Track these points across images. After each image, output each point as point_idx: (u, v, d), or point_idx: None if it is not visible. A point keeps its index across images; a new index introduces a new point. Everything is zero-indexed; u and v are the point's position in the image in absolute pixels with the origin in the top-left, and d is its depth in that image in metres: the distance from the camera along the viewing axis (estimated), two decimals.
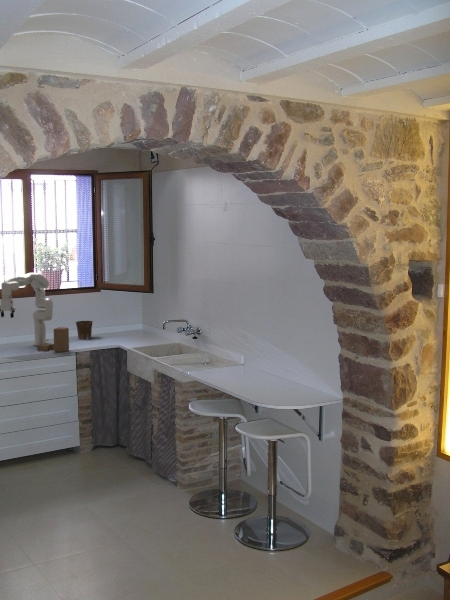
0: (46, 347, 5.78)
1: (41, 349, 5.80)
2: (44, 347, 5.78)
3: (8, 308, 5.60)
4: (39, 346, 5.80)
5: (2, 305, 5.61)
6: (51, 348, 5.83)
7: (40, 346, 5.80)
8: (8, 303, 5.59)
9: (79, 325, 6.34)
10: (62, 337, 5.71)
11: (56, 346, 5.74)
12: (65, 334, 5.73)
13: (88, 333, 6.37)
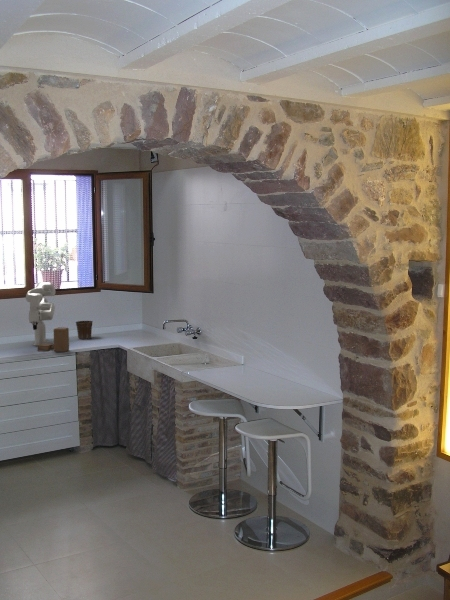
0: (46, 347, 5.78)
1: (41, 349, 5.80)
2: (44, 347, 5.78)
3: (36, 319, 5.82)
4: (39, 346, 5.80)
5: (30, 316, 5.83)
6: (51, 348, 5.83)
7: (40, 346, 5.80)
8: (36, 314, 5.81)
9: (79, 325, 6.34)
10: (62, 337, 5.71)
11: (56, 346, 5.74)
12: (65, 335, 5.73)
13: (88, 333, 6.37)
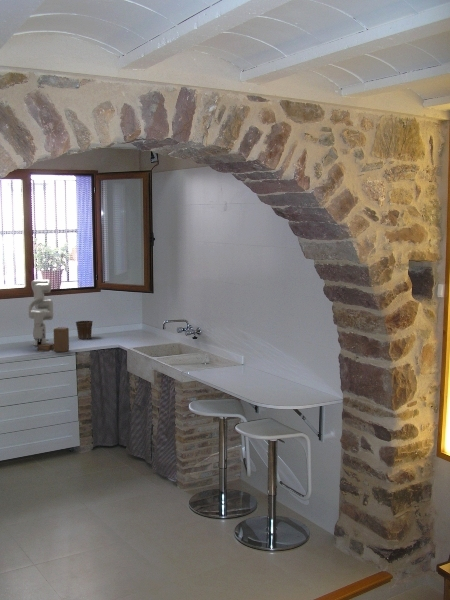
0: (47, 347, 5.78)
1: (42, 349, 5.79)
2: (45, 347, 5.78)
3: (40, 336, 5.82)
4: (40, 346, 5.79)
5: (34, 333, 5.84)
6: (52, 348, 5.84)
7: (41, 346, 5.79)
8: (40, 331, 5.81)
9: (79, 325, 6.34)
10: (62, 337, 5.71)
11: (56, 346, 5.74)
12: (65, 335, 5.73)
13: (88, 333, 6.37)
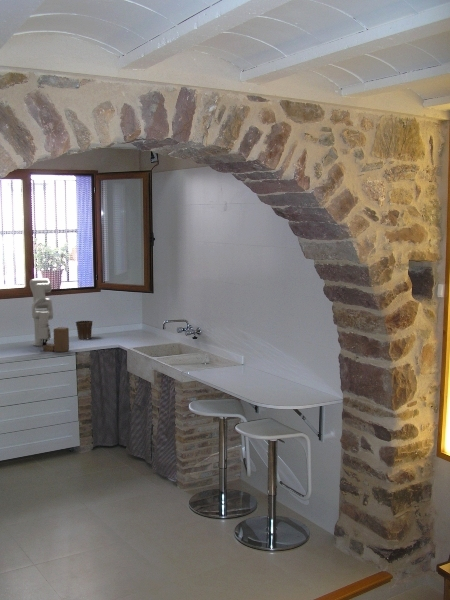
0: (52, 348, 5.76)
1: (47, 350, 5.77)
2: (50, 348, 5.76)
3: (45, 336, 5.80)
4: (45, 346, 5.78)
5: (40, 333, 5.82)
6: None
7: (46, 347, 5.77)
8: (45, 332, 5.79)
9: (79, 325, 6.34)
10: (62, 337, 5.71)
11: (56, 346, 5.74)
12: (65, 334, 5.73)
13: (88, 333, 6.37)
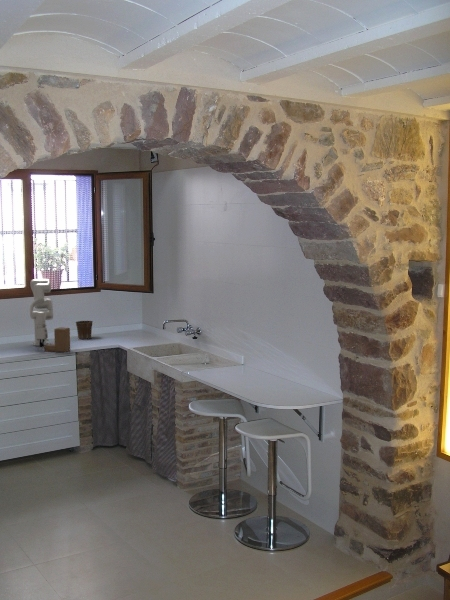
0: (53, 348, 5.75)
1: (48, 350, 5.77)
2: (51, 348, 5.76)
3: (43, 337, 5.82)
4: (46, 346, 5.77)
5: (37, 334, 5.83)
6: None
7: (47, 347, 5.77)
8: (43, 332, 5.81)
9: (79, 325, 6.34)
10: (63, 337, 5.71)
11: (56, 346, 5.74)
12: (65, 335, 5.73)
13: (88, 333, 6.37)
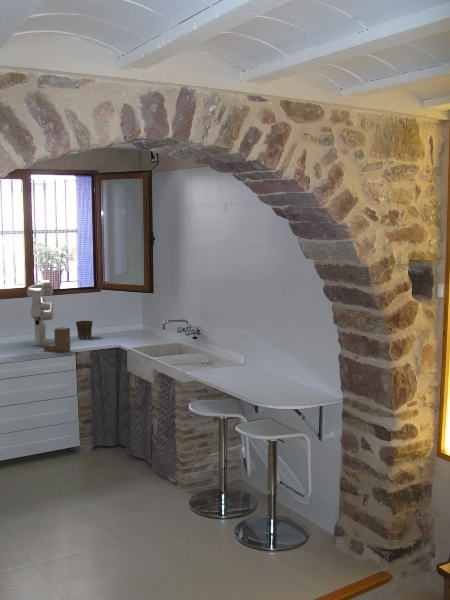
0: (53, 348, 5.75)
1: (48, 350, 5.77)
2: (51, 348, 5.76)
3: (38, 314, 5.81)
4: (46, 346, 5.77)
5: (32, 311, 5.83)
6: None
7: (47, 347, 5.77)
8: (38, 310, 5.81)
9: (79, 325, 6.34)
10: (63, 337, 5.71)
11: (56, 346, 5.74)
12: (65, 335, 5.73)
13: (88, 333, 6.37)
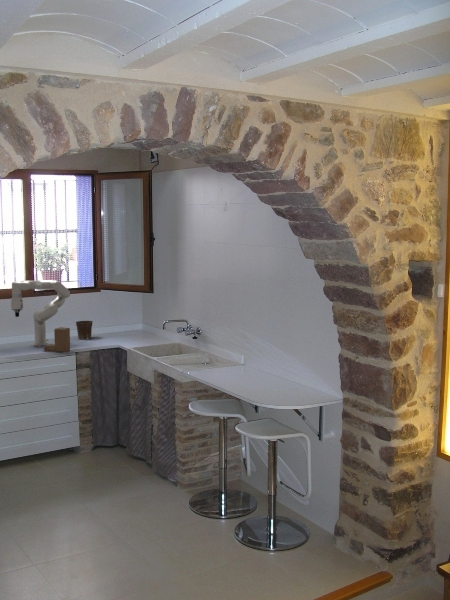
0: (53, 348, 5.75)
1: (48, 350, 5.77)
2: (51, 348, 5.76)
3: (18, 306, 5.91)
4: (46, 346, 5.77)
5: (12, 304, 5.92)
6: None
7: (47, 347, 5.77)
8: (18, 302, 5.90)
9: (79, 325, 6.34)
10: (63, 337, 5.71)
11: (56, 346, 5.74)
12: (65, 335, 5.73)
13: (88, 333, 6.37)
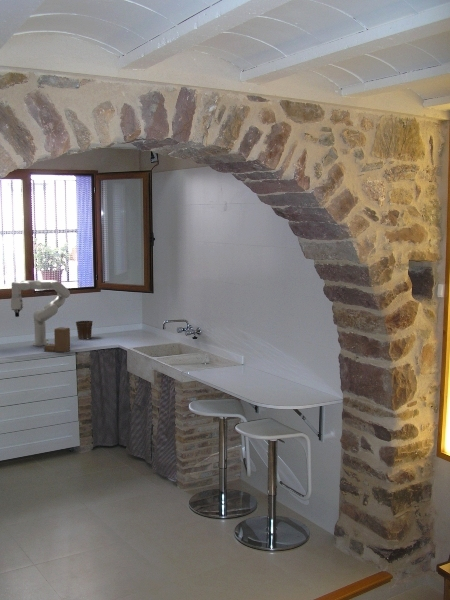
0: (53, 348, 5.75)
1: (48, 350, 5.77)
2: (51, 348, 5.76)
3: (18, 306, 5.91)
4: (46, 346, 5.77)
5: (12, 304, 5.92)
6: None
7: (47, 347, 5.77)
8: (18, 302, 5.90)
9: (79, 325, 6.34)
10: (63, 337, 5.71)
11: (56, 346, 5.74)
12: (65, 335, 5.73)
13: (88, 333, 6.37)
